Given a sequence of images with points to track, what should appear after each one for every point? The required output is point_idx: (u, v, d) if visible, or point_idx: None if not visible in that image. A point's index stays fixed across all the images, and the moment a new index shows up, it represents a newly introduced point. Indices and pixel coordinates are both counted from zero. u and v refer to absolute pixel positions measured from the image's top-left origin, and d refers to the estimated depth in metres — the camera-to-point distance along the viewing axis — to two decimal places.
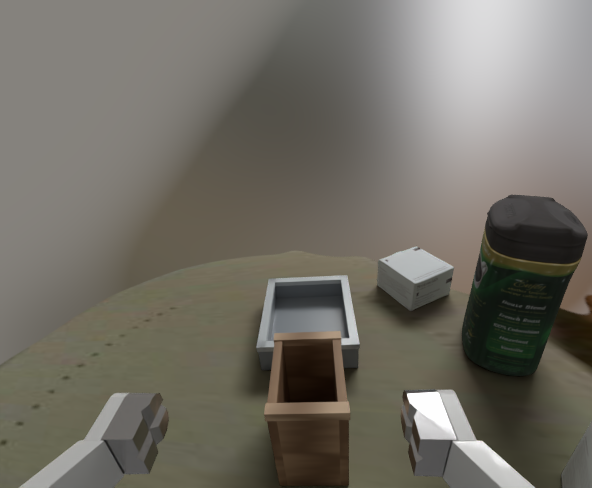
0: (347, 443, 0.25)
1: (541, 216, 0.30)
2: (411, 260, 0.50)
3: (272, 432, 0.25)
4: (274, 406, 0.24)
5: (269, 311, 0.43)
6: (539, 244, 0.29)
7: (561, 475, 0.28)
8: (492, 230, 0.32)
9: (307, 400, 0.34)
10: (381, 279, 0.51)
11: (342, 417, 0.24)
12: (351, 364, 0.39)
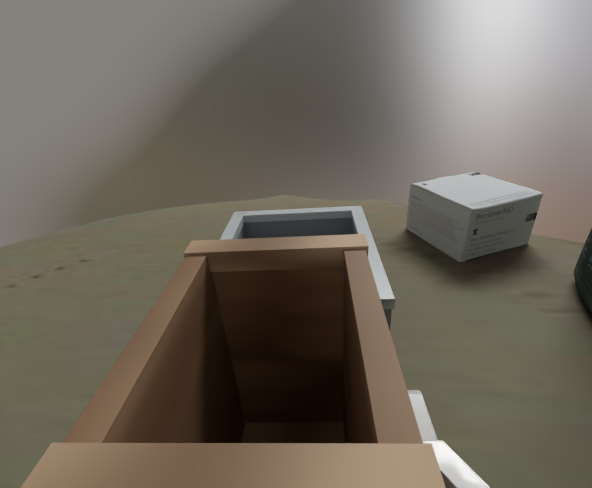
0: None
1: None
2: (465, 184, 0.30)
3: None
4: (86, 459, 0.05)
5: None
6: None
7: None
8: None
9: (282, 415, 0.15)
10: (413, 216, 0.32)
11: None
12: None
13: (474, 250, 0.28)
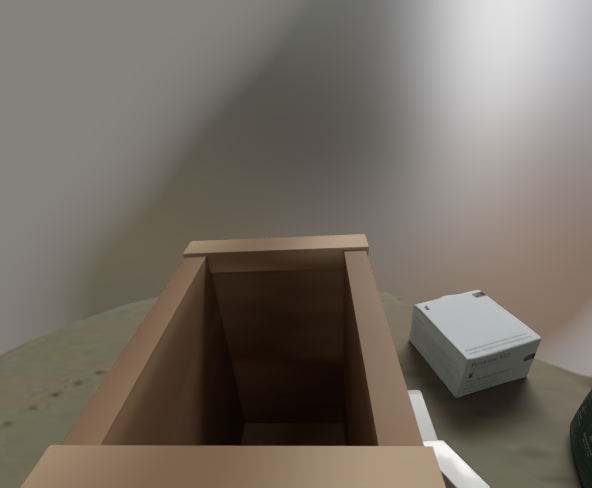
0: None
1: None
2: (466, 314, 0.31)
3: None
4: (85, 462, 0.05)
5: None
6: None
7: None
8: None
9: (282, 416, 0.15)
10: (415, 333, 0.34)
11: None
12: None
13: (470, 388, 0.29)
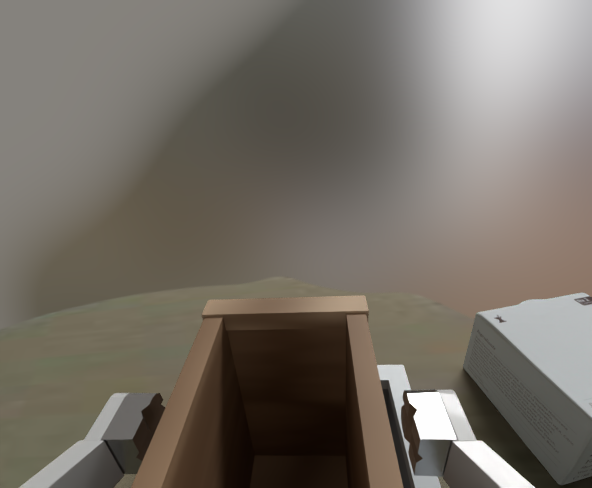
0: None
1: None
2: (574, 334, 0.18)
3: None
4: None
5: None
6: None
7: None
8: None
9: (288, 449, 0.16)
10: (476, 359, 0.21)
11: None
12: None
13: (589, 471, 0.16)
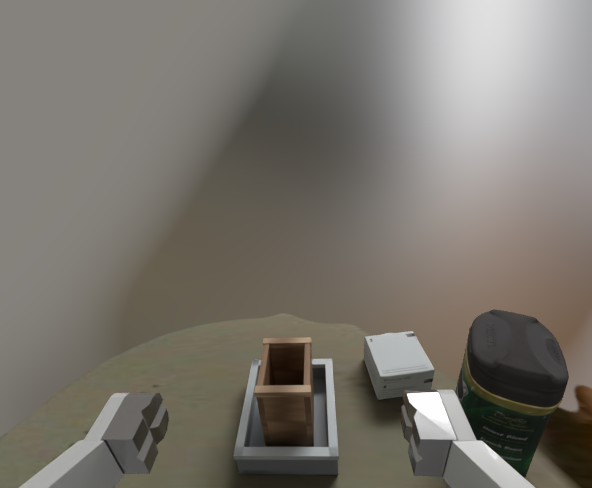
0: (310, 414, 0.38)
1: (521, 354, 0.29)
2: (394, 348, 0.48)
3: (260, 405, 0.37)
4: (261, 387, 0.37)
5: (250, 405, 0.43)
6: (519, 386, 0.28)
7: None
8: (472, 358, 0.31)
9: None
10: (365, 355, 0.51)
11: (305, 395, 0.36)
12: (330, 472, 0.38)
13: (387, 395, 0.46)
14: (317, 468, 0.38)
